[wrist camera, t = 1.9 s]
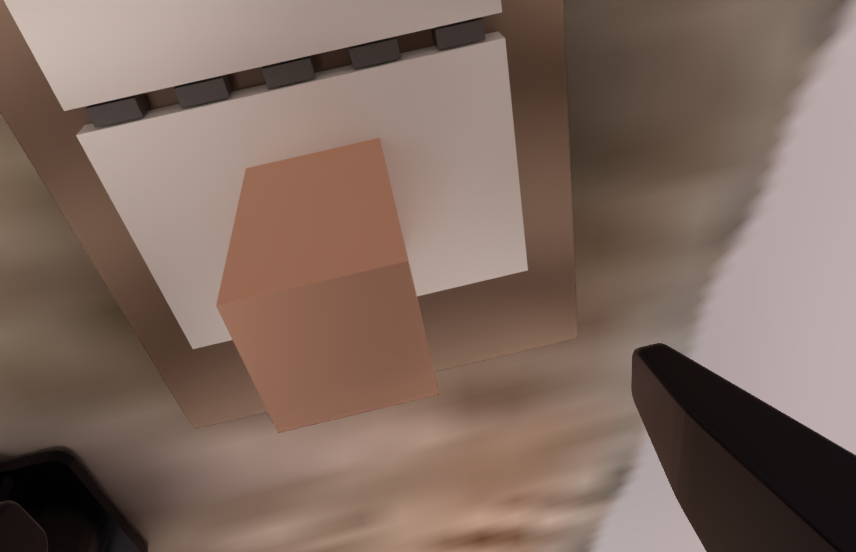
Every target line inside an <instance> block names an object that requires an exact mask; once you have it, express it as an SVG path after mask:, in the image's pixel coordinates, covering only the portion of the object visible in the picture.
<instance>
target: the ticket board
mask: <svg viewBox="0 0 856 552" xmlns="http://www.w3.org/2000/svg"><path fill="white" fill-rule="evenodd" d="M497 31H498V32H499V33H500V34H501V35H503V36H504V37H505V41H506V51H507V61H508V71H509V82H510V92H511V102H512V112H513V123H514V133H515V143H516V153H517V163H518V174H519V184H520V194H521V204H522V215H523V225H524V235H525V245H526V255H527V266H528V271H523V272H519V273H515V274H511V275H506V276H502V277H498V278H494V279H489V280H485V281H481V282H477V283H472V284H468V285H464V286H460V287H455V288H451V289H447V290H443V291H438V292H434V293H430V294H426V295H421V296H417V299H418V303H419V308H420V312H421V316H422V321H423V325H424V329H425V334H426V338H427V342H428V347H429V351H430V355H431V360H432V364H433V368H434V372H437V371H441V370H445V369H449V368H454V367H458V366H462V365H466V364H470V363H475V362H479V361H483V360H487V359H491V358H496V357H500V356H504V355H508V354H512V353H517V352H521V351H525V350H529V349H533V348H538V347H542V346H546V345H550V344H554V343H558V342H563V341H567V340H571V339H575V338H578V330H577V306H576V282H575V258H574V235H573V211H572V187H571V163H570V139H569V116H568V92H567V68H566V44H565V21H564V0H0V112H1V114H2V115H3V117H4V119H5V120H6V122H7V124H8V125H9V127H10V129H11V130H12V132H13V133H14V135H15V137H16V138H17V140H18V142H19V143H20V145H21V147H22V148H23V150H24V152H25V153H26V155H27V156H28V158H29V160H30V161H31V163H32V165H33V166H34V168H35V170H36V171H37V173H38V175H39V176H40V178H41V179H42V181H43V183H44V184H45V186H46V188H47V189H48V191H49V193H50V194H51V196H52V197H53V199H54V201H55V202H56V204H57V206H58V207H59V209H60V211H61V212H62V214H63V216H64V217H65V219H66V220H67V222H68V224H69V225H70V227H71V229H72V230H73V232H74V234H75V235H76V237H77V239H78V240H79V242H80V243H81V245H82V247H83V248H84V250H85V252H86V253H87V255H88V257H89V258H90V260H91V261H92V263H93V265H94V266H95V268H96V270H97V271H98V273H99V275H100V276H101V278H102V280H103V281H104V283H105V284H106V286H107V288H108V289H109V291H110V293H111V294H112V296H113V298H114V299H115V301H116V303H117V304H118V306H119V307H120V309H121V311H122V312H123V314H124V316H125V317H126V319H127V321H128V322H129V324H130V326H131V327H132V329H133V330H134V332H135V334H136V335H137V337H138V339H139V340H140V342H141V344H142V345H143V347H144V348H145V350H146V352H147V353H148V355H149V357H150V358H151V360H152V362H153V363H154V365H155V367H156V368H157V370H158V371H159V373H160V375H161V376H162V378H163V380H164V381H165V383H166V385H167V386H168V388H169V390H170V391H171V393H172V394H173V396H174V398H175V399H176V401H177V403H178V404H179V406H180V408H181V409H182V411H183V412H184V414H185V416H186V417H187V419H188V421H189V422H190V424H191V426H192V427H193V429H198V428H202V427H206V426H210V425H214V424H219V423H223V422H227V421H231V420H235V419H240V418H244V417H248V416H252V415H256V414H261V413H265V412H268V411H267V409H266V407H265V405H264V403H263V401H262V399H261V397H260V395H259V393H258V391H257V389H256V387H255V385H254V383H253V381H252V379H251V377H250V374H249V372H248V370H247V368H246V366H245V364H244V362H243V360H242V358H241V356H240V354H239V352H238V350H237V348H236V346H235V344H234V342H233V340H230V341H226V342H222V343H217V344H213V345H209V346H205V347H200V348H196V349H192V347H191V345H190V343H189V341H188V339H187V338H186V336H185V334H184V332H183V330H182V328H181V327H180V325H179V323H178V321H177V319H176V317H175V316H174V314H173V312H172V310H171V308H170V306H169V305H168V303H167V301H166V299H165V297H164V296H163V294H162V292H161V290H160V288H159V286H158V285H157V283H156V281H155V279H154V277H153V275H152V274H151V272H150V270H149V268H148V266H147V264H146V263H145V261H144V259H143V257H142V255H141V253H140V252H139V250H138V248H137V246H136V244H135V242H134V241H133V239H132V237H131V235H130V233H129V231H128V230H127V228H126V226H125V224H124V222H123V221H122V219H121V217H120V215H119V213H118V211H117V210H116V208H115V206H114V204H113V202H112V200H111V199H110V197H109V195H108V193H107V191H106V189H105V188H104V186H103V184H102V182H101V180H100V178H99V177H98V175H97V173H96V171H95V169H94V167H93V166H92V164H91V162H90V160H89V158H88V156H87V155H86V153H85V151H84V149H83V147H82V146H81V144H80V142H79V140H78V138H77V136H76V135H77V134H78V132H79V131H80V130H81V129H82V128H83V126H84V125H86V124H90V123H93V125H94V127H95V128H96V127H100V126H105V125H109V124H114V123H118V122H123V121H127V120H131V119H136V118H140V117H143V116H144V115H145V113H146V112H147V111H148V110H152V109H157V108H161V107H165V106H170V105H174V104H179V103H180V106H181V108H184V107H189V106H193V105H198V104H202V103H206V102H211V101H215V100H220V99H224V98H229V97H230V95H231V92H232V91H236V90H241V89H245V88H249V87H254V86H258V85H263V84H266V85H267V88H273V87H277V86H282V85H286V84H290V83H295V82H299V81H304V80H308V79H313V78H315V73H316V72H320V71H325V70H329V69H333V68H338V67H342V66H347V65H351V64H352V65H353V69H357V68H361V67H366V66H370V65H374V64H379V63H383V62H388V61H392V60H396V59H401V57H400V53H404V52H409V51H413V50H418V49H422V48H426V47H431V46H435V45H436V47H437V48H438V50H441V49H445V48H449V47H454V46H458V45H463V44H467V43H472V42H476V41H480V40H485V39H486V38H485V34H488V33H493V32H497Z"/></svg>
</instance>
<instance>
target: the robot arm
mask: <svg viewBox="0 0 856 552" xmlns="http://www.w3.org/2000/svg"><path fill="white" fill-rule="evenodd" d="M631 388H632V395H633V399H634V402H635V405H636V407H637V409H638V412H639V414H640V416H641V418H642V421H643V423H644V425H645V428H646V430H647V432H648V435H649V437H650V439H651V442H652V444H653V446H654V448H655V451H656V453H657V455H658V458H659V460H660V462H661V465H662V467H663V469H664V471H665V474H666V476H667V478H668V481H669V483H670V485H671V487H672V489H673V491H674V494H675V496H676V498H677V500H678V502H679V503H680V505H681V507H682V509H683V511H684V513H685V514H686V516H687V518H688V520H689V522H690V523H691V525H692V527H693V528H694V530H695V532H696V534H697V536H698V537H699V539H700V541H701V543H702V544H703V546H704V548H705V550H706V551H707V552H856V455H854V454H853V453H851V452H849V451H847V450H846V449H844V448H842V447H841V446H839V445H837V444H835V443H834V442H832V441H830V440H829V439H827V438H825V437H823V436H822V435H820V434H818V433H817V432H815V431H813V430H811V429H810V428H808V427H806V426H805V425H803V424H801V423H799V422H798V421H796V420H794V419H793V418H791V417H789V416H787V415H785V414H784V413H782V412H781V411H779V410H777V409H775V408H774V407H772V406H770V405H768V404H767V403H765V402H763V401H762V400H760V399H758V398H756V397H755V396H753V395H751V394H750V393H748V392H746V391H745V390H742V389H741V388H739V387H738V386H736V385H734V384H732V383H731V382H729V381H727V380H725V379H724V378H722V377H720V376H719V375H717V374H715V373H713V372H712V371H710V370H708V369H707V368H705V367H703V366H702V365H700V364H698V363H696V362H695V361H693V360H691V359H690V358H688V357H686V356H684V355H683V354H681V353H679V352H678V351H676V350H674V349H672V348H671V347H669V346H667V345H665V344H662V343H657V344H653V345H648V346H644V347H640V348H637V349H635V351H634V352H633V356H632V385H631ZM0 552H148V548H147V546H146V545H145V544H144V543H143V542H142V540H141V539H140V538H139V537H138V535H137V534H136V533H135V532H134V531H133V529H132V528H131V527H130V526H129V524H128V523H127V522H126V521H125V520H124V518H123V517H122V516H121V515H120V513H119V512H118V511H117V510H116V509H115V507H114V506H113V505H112V504H111V502H110V501H109V500H108V499H107V498H106V496H105V495H104V494H103V493H102V491H101V490H100V489H99V488H98V487H97V485H96V484H95V483H94V482H93V480H92V479H91V478H90V477H89V476H88V474H87V473H86V472H85V471H84V469H83V468H82V467H81V466H80V465H79V463H78V462H77V461H76V460H75V458H74V457H72V456H71V455H70V454H68V453H65V452H61V451H52V452H47V453H43V454H38V455H34V456H30V457H26V458H22V459H17V460H13V461H9V462H5V463H1V464H0Z"/></svg>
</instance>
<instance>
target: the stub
mask: <svg viewBox="0 0 856 552" xmlns="http://www.w3.org/2000/svg"><path fill="white" fill-rule="evenodd" d="M485 38H486V39H485V40H480V41H476V42H472V43H467V44H463V45H458V46H454V47H449V48H445V49H441V50H438V48H437V47H436V45H435V46H431V47H426V48H422V49H418V50H413V51H409V52H404V53H400V57H401V59H396V60H392V61H388V62H383V63H379V64H374V65H370V66H366V67H361V68H357V69H353V65H352V64H351V65H347V66H342V67H338V68H333V69H329V70H325V71H320V72H316V73H315V78H313V79H308V80H304V81H299V82H295V83H290V84H286V85H282V86H277V87H273V88H267V85H266V84H263V85H258V86H254V87H249V88H245V89H241V90H236V91H232V92H231V95H230V97H229V98H224V99H220V100H215V101H211V102H206V103H202V104H198V105H193V106H189V107H184V108H181V106H180V103H179V104H174V105H170V106H165V107H161V108H157V109H152V110H148V111H147V112H146V113H145V115H144V116H143V117H140V118H136V119H131V120H127V121H123V122H118V123H114V124H109V125H105V126H100V127H96V128H95V127H94V125H93V123H90V124H86V125H84V126H83V128H82V129H81V130H80V131H79V132H78V134H77V135H76V136H77V138H78V140H79V142H80V144H81V146H82V147H83V149H84V151H85V153H86V155H87V156H88V158H89V160H90V162H91V164H92V166H93V167H94V169H95V171H96V173H97V175H98V177H99V178H100V180H101V182H102V184H103V186H104V188H105V189H106V191H107V193H108V195H109V197H110V199H111V200H112V202H113V204H114V206H115V208H116V210H117V211H118V213H119V215H120V217H121V219H122V221H123V222H124V224H125V226H126V228H127V230H128V231H129V233H130V235H131V237H132V239H133V241H134V242H135V244H136V246H137V248H138V250H139V252H140V253H141V255H142V257H143V259H144V261H145V263H146V264H147V266H148V268H149V270H150V272H151V274H152V275H153V277H154V279H155V281H156V283H157V285H158V286H159V288H160V290H161V292H162V294H163V296H164V297H165V299H166V301H167V303H168V305H169V306H170V308H171V310H172V312H173V314H174V316H175V317H176V319H177V321H178V323H179V325H180V327H181V328H182V330H183V332H184V334H185V336H186V338H187V339H188V341H189V343H190V345H191V347H192V349H196V348H200V347H205V346H209V345H213V344H217V343H222V342H226V341H230V340H233V342H234V344H235V346H236V348H237V350H238V352H239V354H240V356H241V358H242V360H243V362H244V364H245V366H246V368H247V370H248V372H249V374H250V377H251V379H252V381H253V383H254V385H255V387H256V389H257V391H258V393H259V395H260V397H261V399H262V401H263V403H264V405H265V407H266V409H267V411H268V413H269V415H270V417H271V419H272V422H273V424H274V426H275V428H276V430H277V432H278V433H280V432H285V431H289V430H293V429H297V428H301V427H305V426H310V425H314V424H318V423H322V422H326V421H331V420H335V419H339V418H343V417H347V416H351V415H356V414H360V413H364V412H368V411H372V410H377V409H381V408H385V407H389V406H393V405H397V404H402V403H406V402H410V401H414V400H418V399H423V398H427V397H431V396H435V395H439V390H438V386H437V381H436V377H435V373H434V368H433V364H432V360H431V355H430V351H429V347H428V342H427V338H426V334H425V329H424V325H423V321H422V316H421V312H420V308H419V303H418V299H417V296H421V295H426V294H430V293H434V292H438V291H443V290H447V289H451V288H455V287H460V286H464V285H468V284H472V283H477V282H481V281H485V280H489V279H494V278H498V277H502V276H506V275H511V274H515V273H519V272H523V271H528V266H527V255H526V245H525V235H524V225H523V215H522V204H521V194H520V184H519V174H518V163H517V153H516V143H515V133H514V123H513V112H512V102H511V92H510V82H509V71H508V61H507V51H506V41H505V37H504V36H503V35H501V34H500V33H499V32H498V31H497V32H493V33H488V34H485Z"/></svg>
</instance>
